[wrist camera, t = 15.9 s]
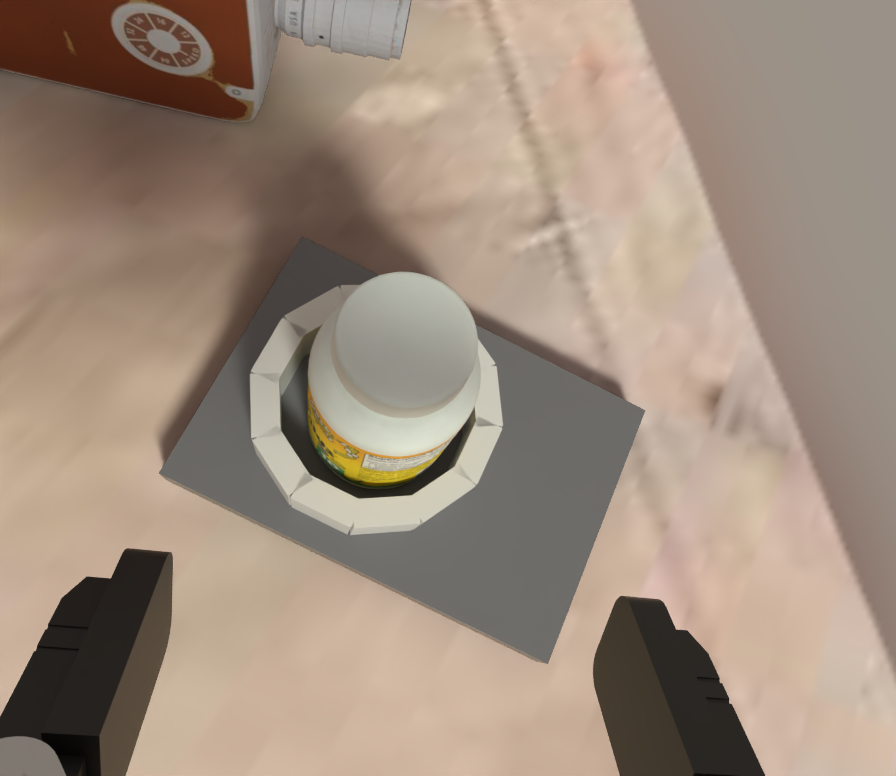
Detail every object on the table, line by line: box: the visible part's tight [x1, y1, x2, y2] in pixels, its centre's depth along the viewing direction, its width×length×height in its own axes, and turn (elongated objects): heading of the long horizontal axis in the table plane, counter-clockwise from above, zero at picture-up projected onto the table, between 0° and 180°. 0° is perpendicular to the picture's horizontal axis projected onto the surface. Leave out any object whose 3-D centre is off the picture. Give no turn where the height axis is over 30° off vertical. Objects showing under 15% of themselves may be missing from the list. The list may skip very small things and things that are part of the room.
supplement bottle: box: [307, 272, 481, 489], centre depth 25 cm, size 5×5×10 cm
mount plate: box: [159, 237, 645, 664], centre depth 29 cm, size 16×11×4 cm
